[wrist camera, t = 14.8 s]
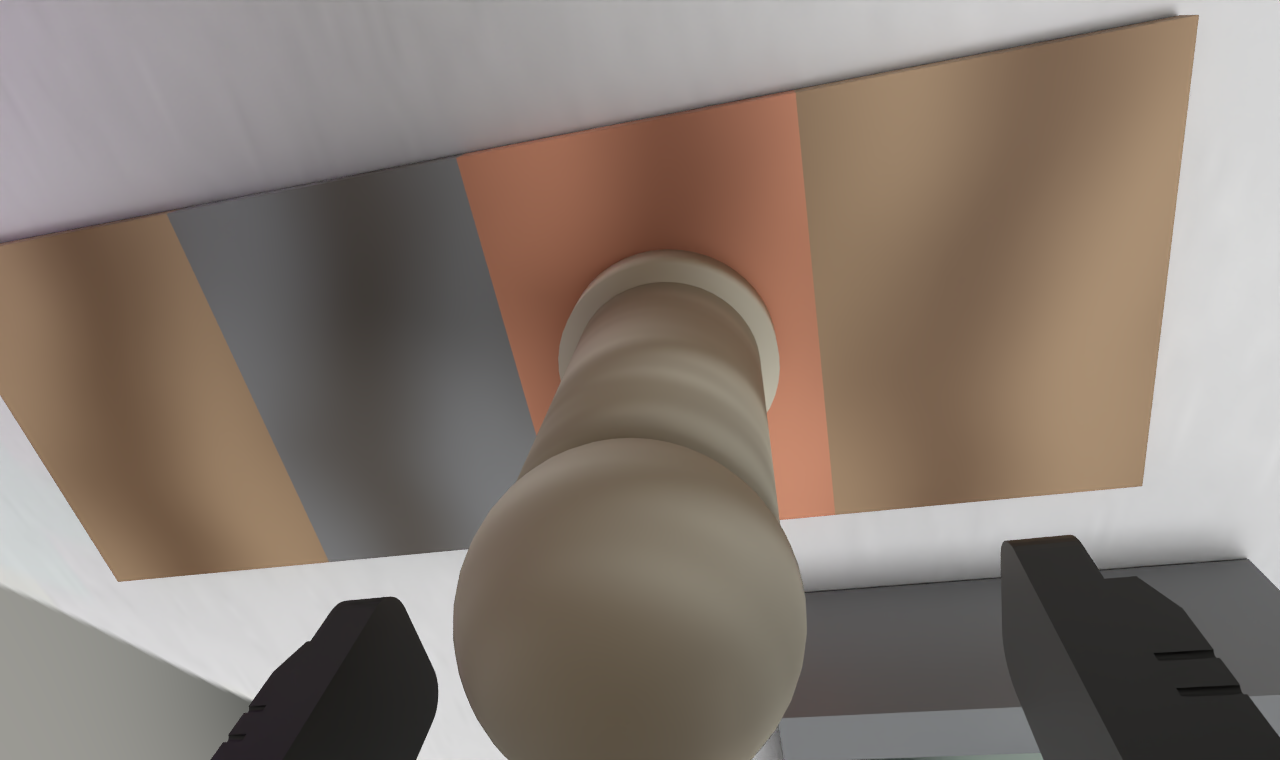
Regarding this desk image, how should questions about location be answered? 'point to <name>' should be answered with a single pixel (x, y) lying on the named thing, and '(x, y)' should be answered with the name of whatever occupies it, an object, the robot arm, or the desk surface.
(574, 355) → the pawn
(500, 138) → the desk surface
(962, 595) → the dome housing
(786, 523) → the desk surface
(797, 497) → the track board
